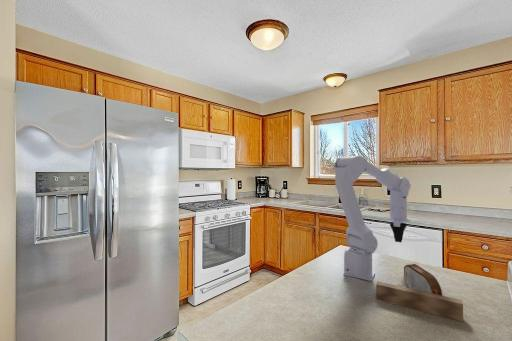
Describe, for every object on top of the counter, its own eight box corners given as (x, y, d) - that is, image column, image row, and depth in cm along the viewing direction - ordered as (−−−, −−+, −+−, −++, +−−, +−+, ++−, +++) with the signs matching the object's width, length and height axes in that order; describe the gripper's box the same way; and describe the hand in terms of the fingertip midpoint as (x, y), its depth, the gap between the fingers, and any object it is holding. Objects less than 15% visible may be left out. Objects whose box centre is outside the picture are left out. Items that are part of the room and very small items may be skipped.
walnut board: (376, 299, 73) (376, 284, 73) (377, 295, 75) (377, 281, 75) (463, 321, 62) (463, 304, 62) (461, 317, 64) (461, 299, 64)
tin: (443, 310, 68) (443, 279, 68) (431, 310, 68) (431, 279, 68) (411, 285, 83) (411, 260, 83) (401, 285, 83) (401, 260, 83)
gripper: (409, 210, 89) (409, 248, 89) (411, 206, 101) (411, 239, 101) (387, 208, 93) (387, 244, 93) (391, 204, 105) (391, 236, 105)
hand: (398, 241), depth 97 cm, fingers closed
